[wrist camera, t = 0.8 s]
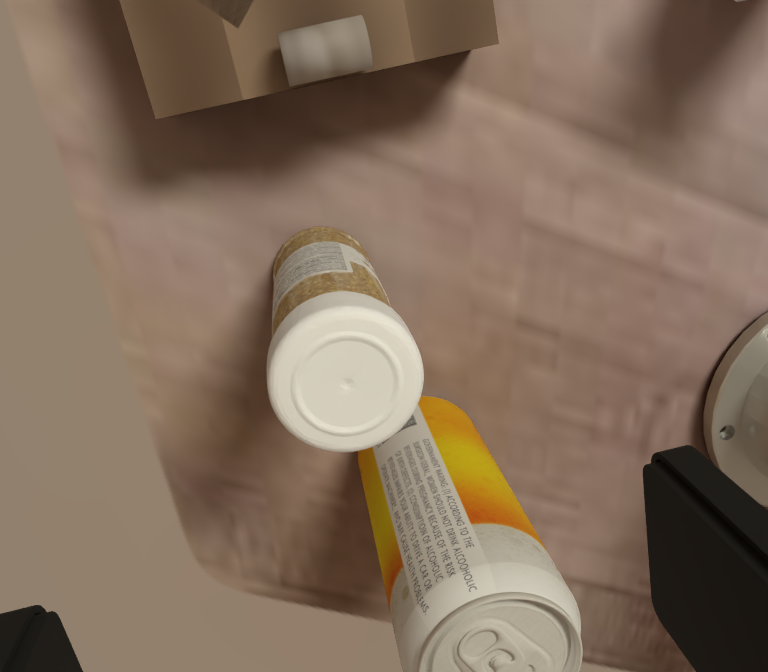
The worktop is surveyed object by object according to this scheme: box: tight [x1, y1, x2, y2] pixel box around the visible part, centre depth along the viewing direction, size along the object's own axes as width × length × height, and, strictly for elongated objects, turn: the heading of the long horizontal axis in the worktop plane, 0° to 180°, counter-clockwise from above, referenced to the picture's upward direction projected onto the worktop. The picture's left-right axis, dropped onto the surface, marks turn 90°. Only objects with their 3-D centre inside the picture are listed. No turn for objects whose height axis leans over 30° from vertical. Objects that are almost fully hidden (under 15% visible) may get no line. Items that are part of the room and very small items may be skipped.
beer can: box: [358, 396, 583, 672], centre depth 29 cm, size 6×6×15 cm
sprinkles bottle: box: [267, 227, 424, 452], centre depth 27 cm, size 5×5×14 cm
